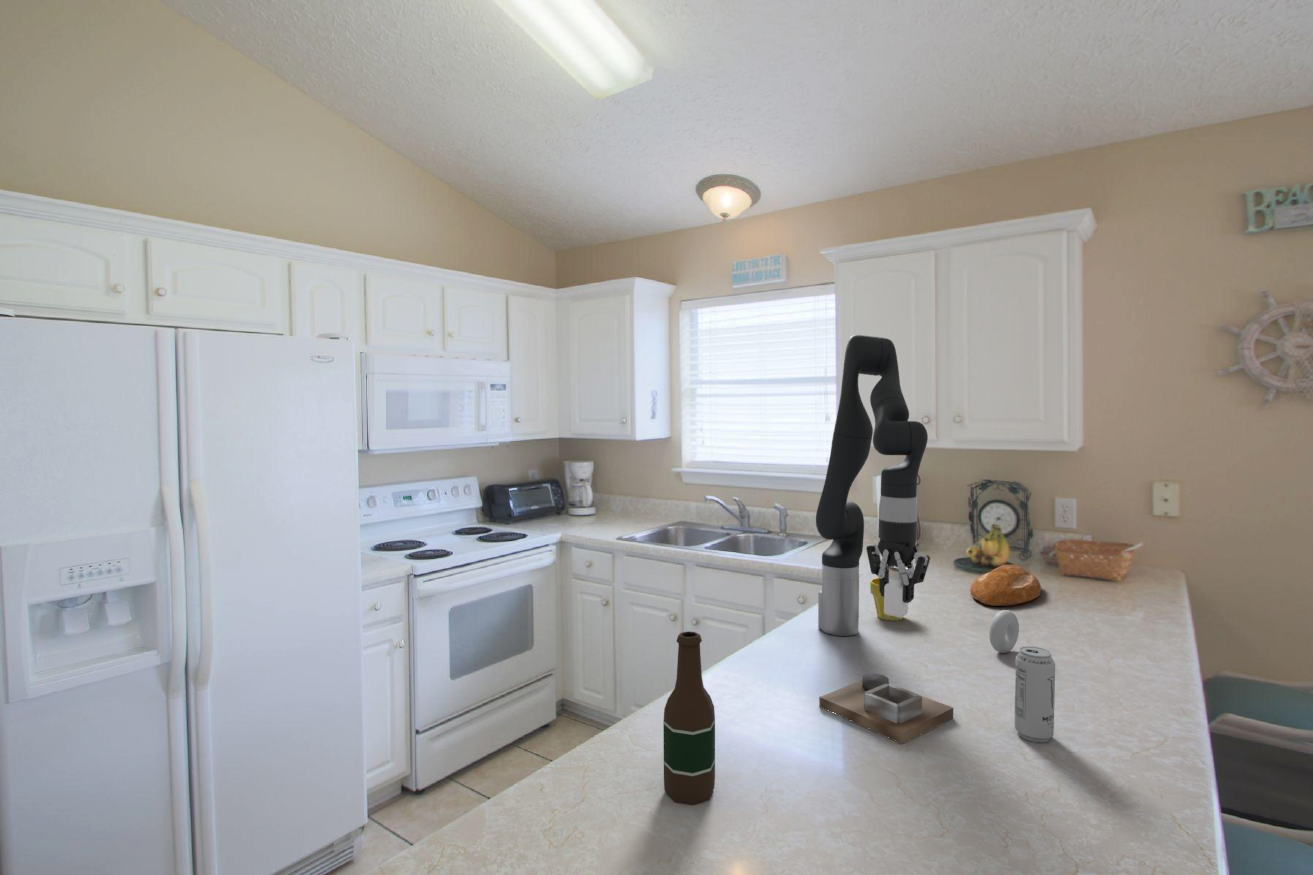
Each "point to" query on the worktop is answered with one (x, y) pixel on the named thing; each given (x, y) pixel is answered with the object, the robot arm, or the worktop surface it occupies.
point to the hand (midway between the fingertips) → (896, 598)
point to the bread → (1006, 586)
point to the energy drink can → (1034, 694)
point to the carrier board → (886, 708)
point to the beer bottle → (689, 729)
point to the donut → (1004, 631)
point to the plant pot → (880, 600)
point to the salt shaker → (894, 595)
